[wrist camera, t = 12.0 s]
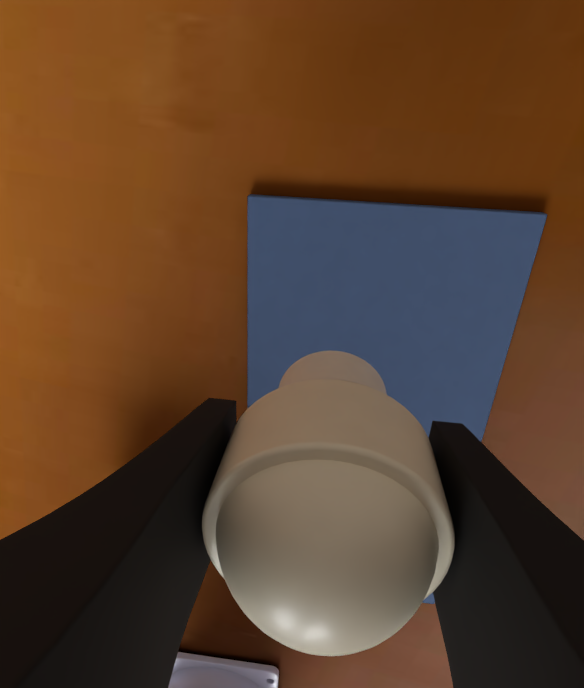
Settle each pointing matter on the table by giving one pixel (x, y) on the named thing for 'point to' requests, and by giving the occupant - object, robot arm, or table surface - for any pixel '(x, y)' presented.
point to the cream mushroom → (329, 510)
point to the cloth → (390, 296)
